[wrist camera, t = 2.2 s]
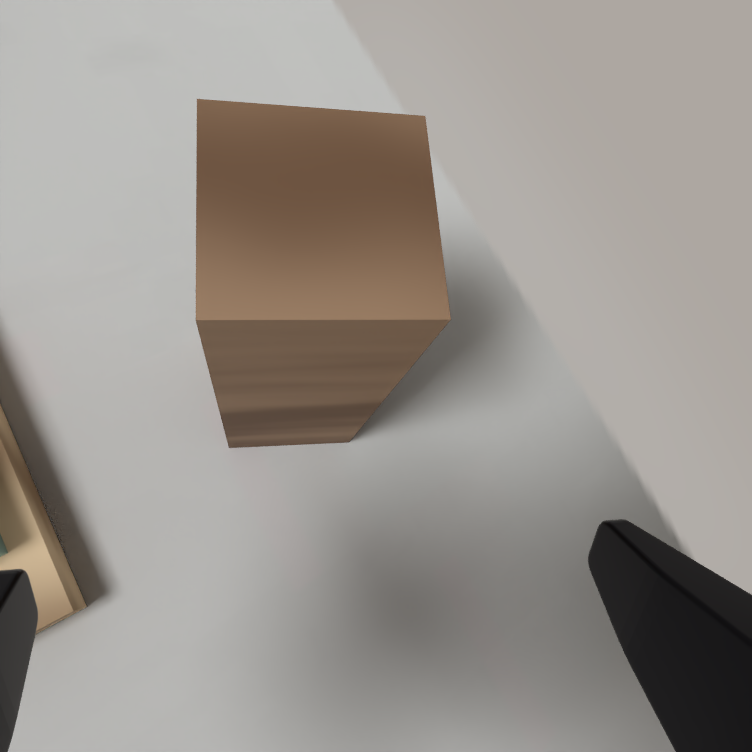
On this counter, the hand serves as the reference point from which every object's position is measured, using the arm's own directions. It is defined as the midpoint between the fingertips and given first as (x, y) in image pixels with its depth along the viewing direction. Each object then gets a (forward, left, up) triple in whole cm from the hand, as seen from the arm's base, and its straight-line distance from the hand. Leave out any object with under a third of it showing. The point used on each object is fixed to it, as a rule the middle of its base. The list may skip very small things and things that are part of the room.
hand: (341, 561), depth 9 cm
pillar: (+5, -4, -12) cm, 14 cm away
